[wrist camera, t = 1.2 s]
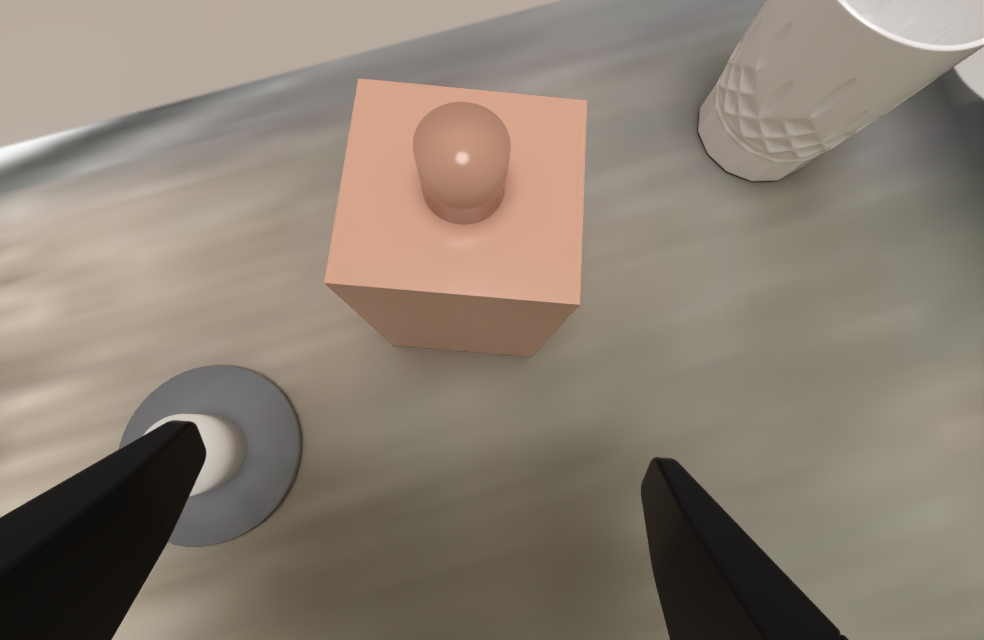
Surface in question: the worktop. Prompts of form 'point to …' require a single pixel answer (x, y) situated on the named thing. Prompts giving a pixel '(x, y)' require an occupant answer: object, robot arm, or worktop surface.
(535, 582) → the worktop surface
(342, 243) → the pink square bottle
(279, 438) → the grey curved piece
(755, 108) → the white cup
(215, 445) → the white smooth rounded piece
